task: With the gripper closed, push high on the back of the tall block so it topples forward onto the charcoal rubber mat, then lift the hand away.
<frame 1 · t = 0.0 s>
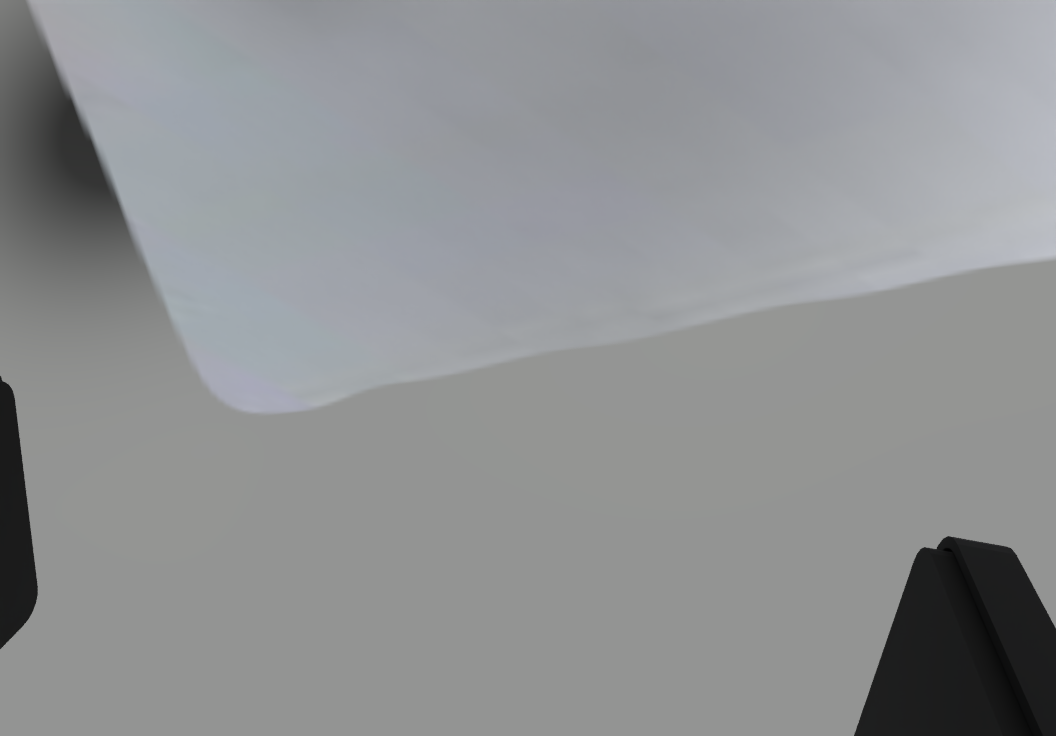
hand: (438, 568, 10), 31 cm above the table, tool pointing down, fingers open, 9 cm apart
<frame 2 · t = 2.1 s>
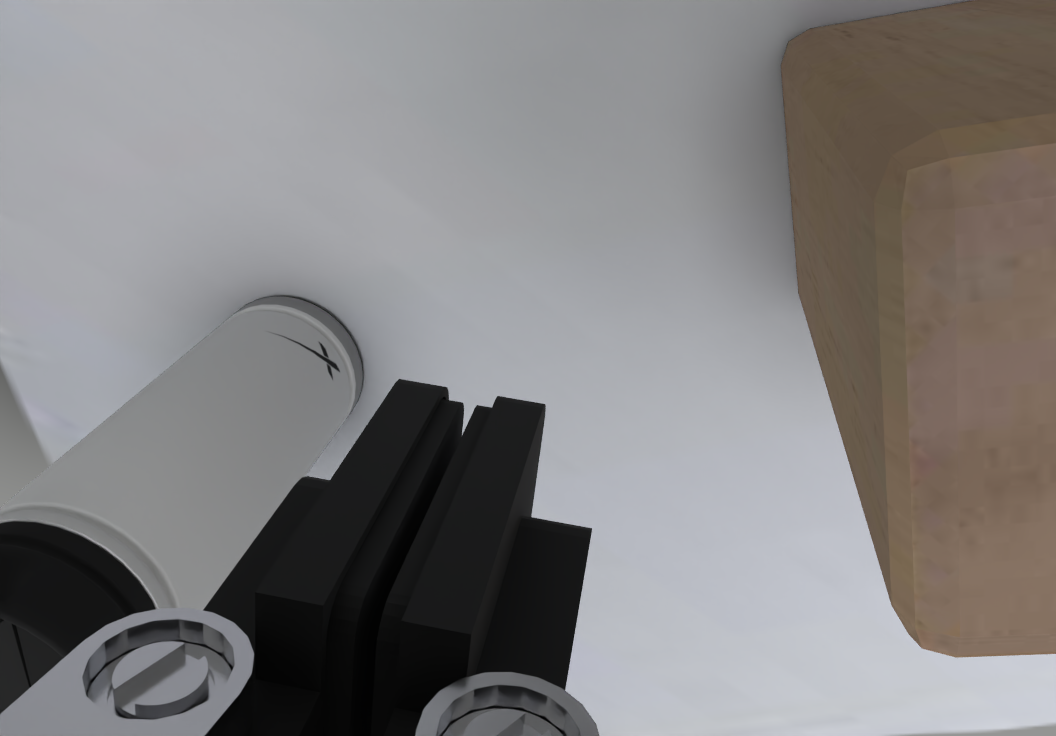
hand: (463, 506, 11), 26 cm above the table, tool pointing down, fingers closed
block: (935, 155, 33), on the table
travel mug: (294, 358, 40), on the table
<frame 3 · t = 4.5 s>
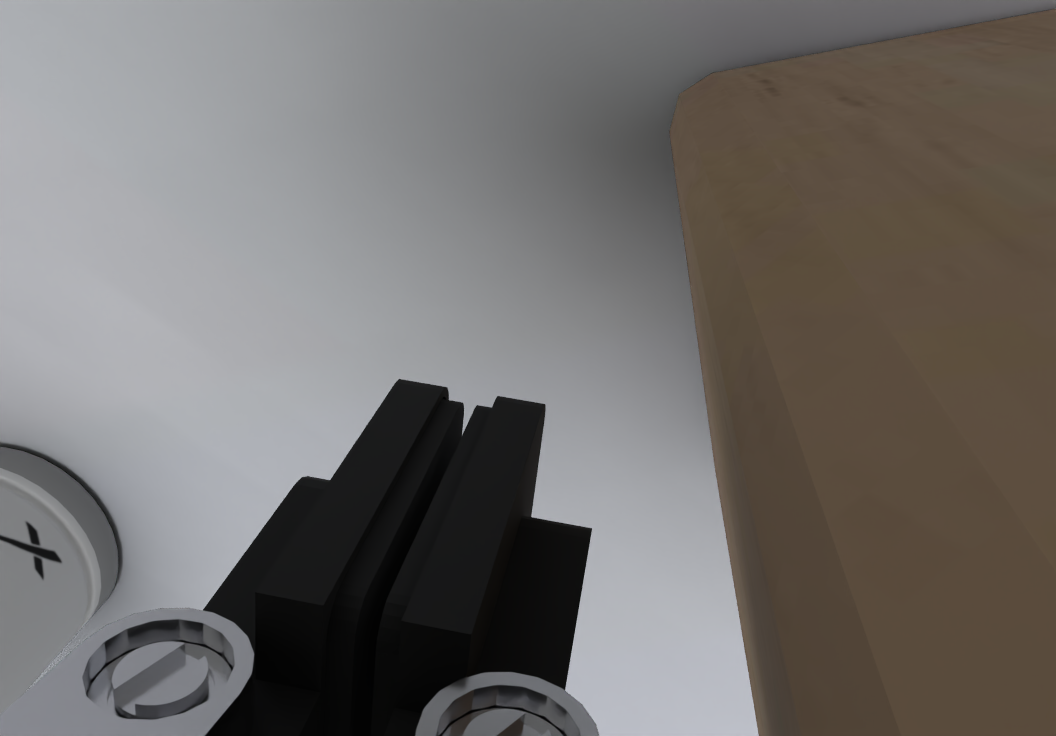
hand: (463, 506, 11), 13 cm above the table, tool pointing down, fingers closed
block: (914, 261, 22), on the table, touching gripper
travel mug: (28, 525, 29), on the table
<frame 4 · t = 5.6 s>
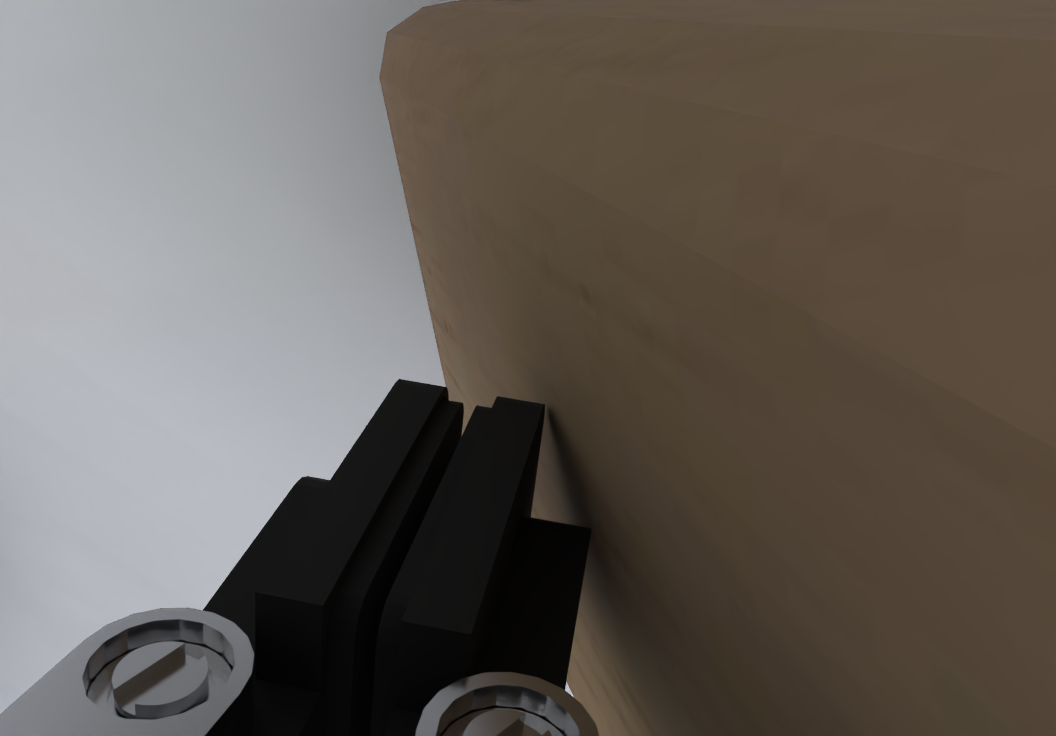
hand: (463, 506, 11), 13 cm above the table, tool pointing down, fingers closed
block: (643, 220, 20), point 2 cm above the table, touching gripper, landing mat
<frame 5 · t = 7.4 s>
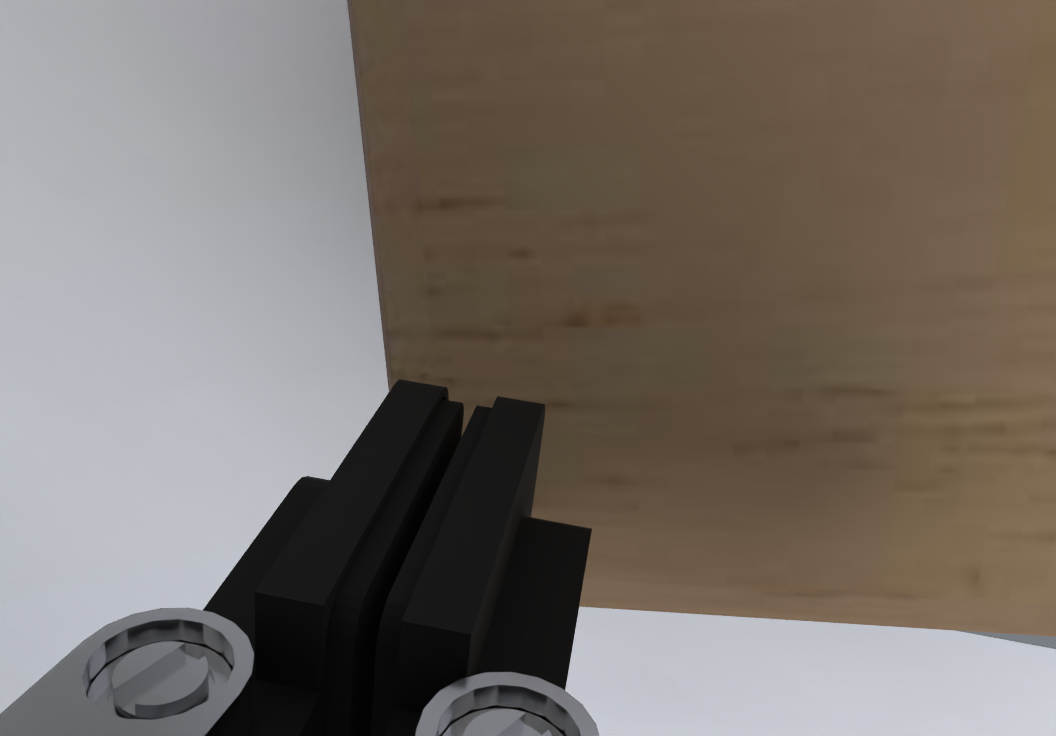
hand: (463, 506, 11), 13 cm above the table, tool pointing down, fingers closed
block: (433, 211, 17), point 6 cm above the table, touching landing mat
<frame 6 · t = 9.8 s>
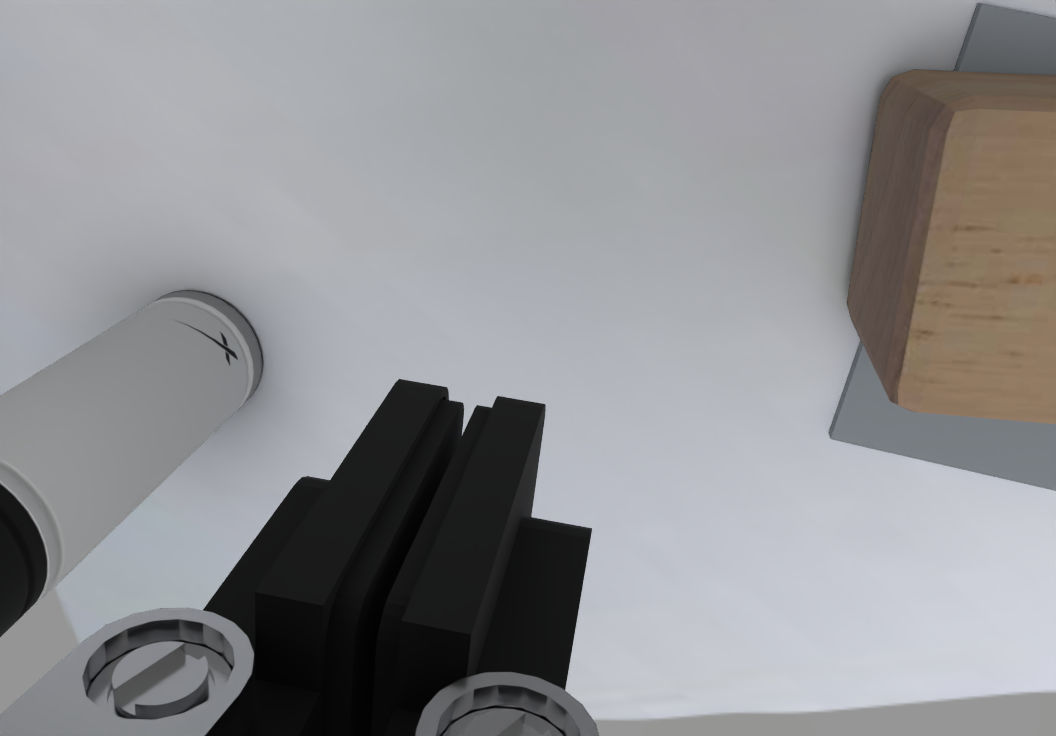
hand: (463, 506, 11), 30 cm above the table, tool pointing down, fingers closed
block: (876, 229, 33), point 6 cm above the table, touching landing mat
travel mug: (202, 347, 46), on the table
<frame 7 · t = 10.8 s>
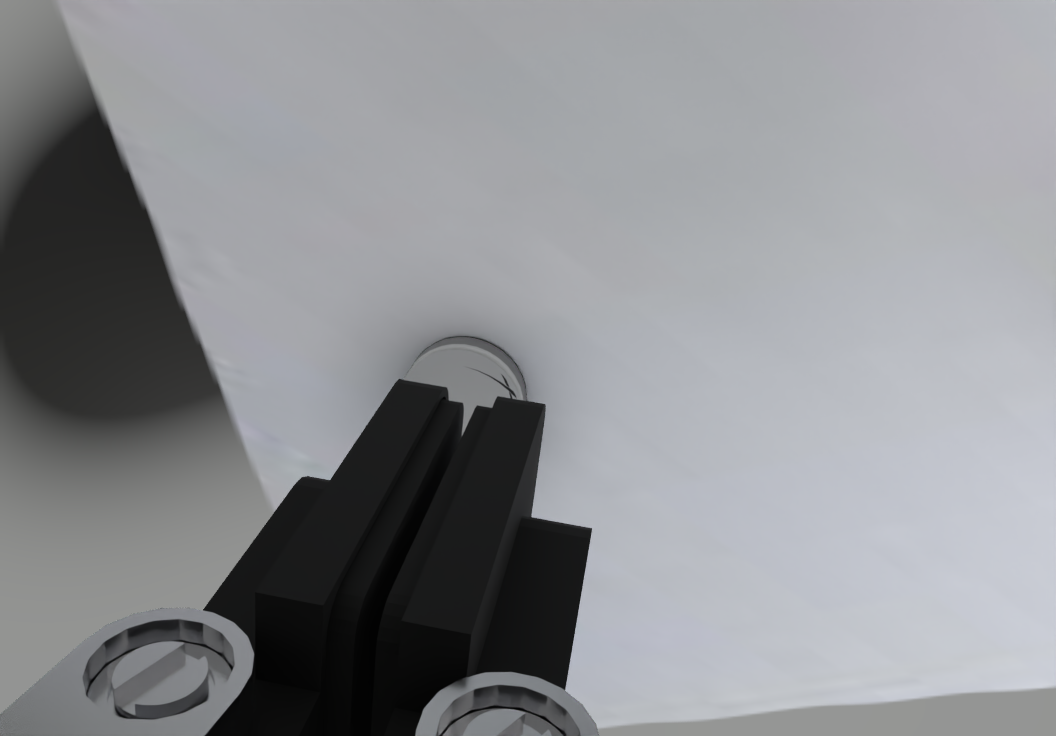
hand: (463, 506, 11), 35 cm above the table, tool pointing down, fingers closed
travel mug: (468, 386, 50), on the table
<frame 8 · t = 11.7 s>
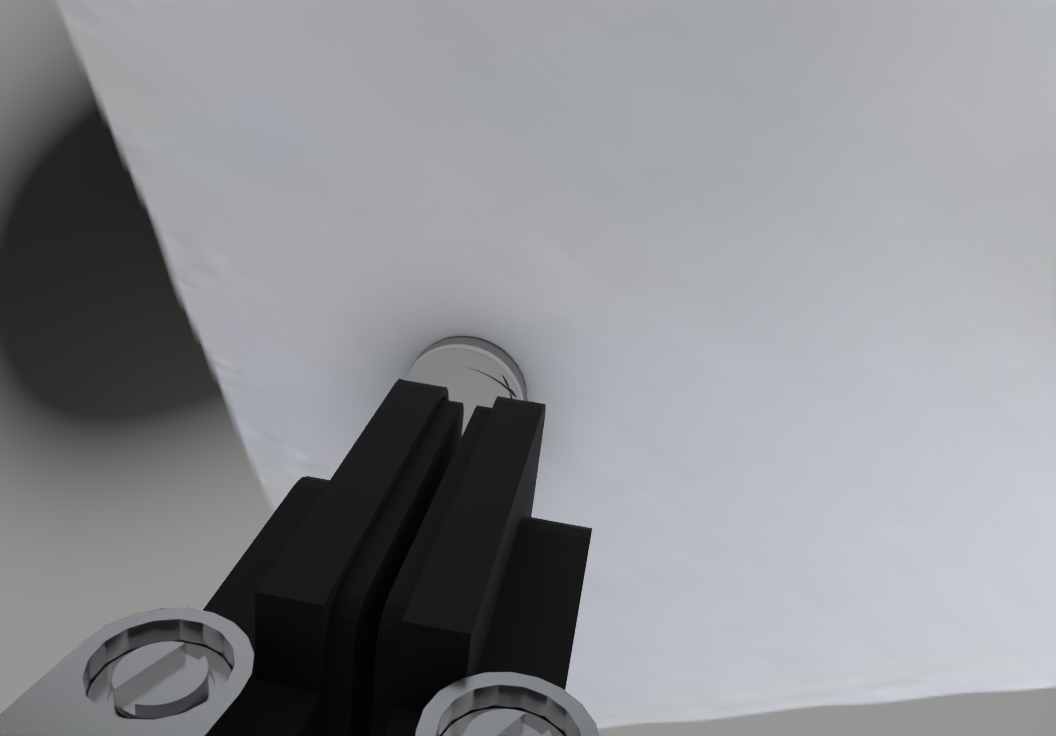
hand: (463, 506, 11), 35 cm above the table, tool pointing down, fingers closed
travel mug: (468, 386, 50), on the table
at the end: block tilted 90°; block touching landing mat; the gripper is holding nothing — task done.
